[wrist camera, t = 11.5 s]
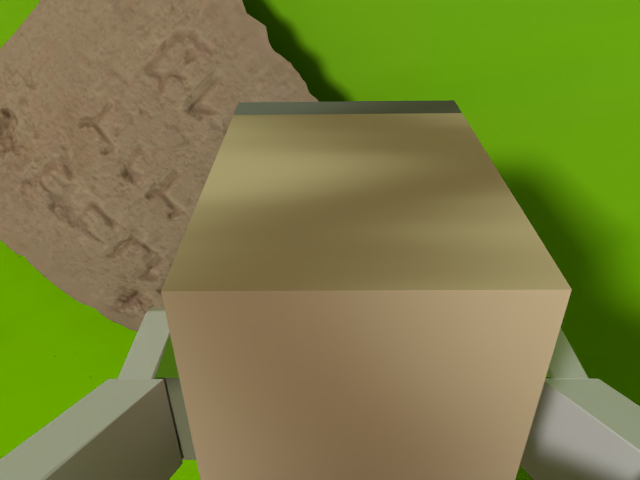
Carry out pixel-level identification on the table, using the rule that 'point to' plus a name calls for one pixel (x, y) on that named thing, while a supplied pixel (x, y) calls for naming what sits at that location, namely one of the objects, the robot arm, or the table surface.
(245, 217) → the block
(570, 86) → the table surface
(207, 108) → the clay tablet
